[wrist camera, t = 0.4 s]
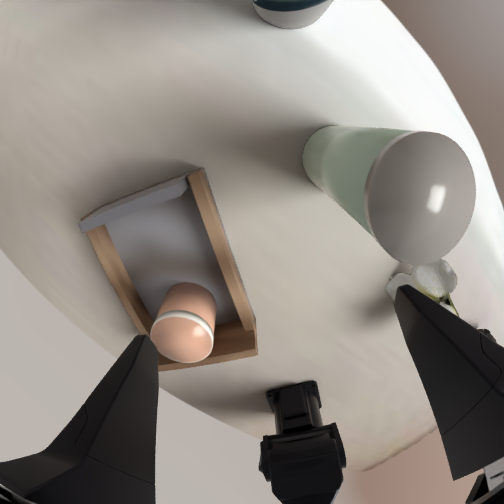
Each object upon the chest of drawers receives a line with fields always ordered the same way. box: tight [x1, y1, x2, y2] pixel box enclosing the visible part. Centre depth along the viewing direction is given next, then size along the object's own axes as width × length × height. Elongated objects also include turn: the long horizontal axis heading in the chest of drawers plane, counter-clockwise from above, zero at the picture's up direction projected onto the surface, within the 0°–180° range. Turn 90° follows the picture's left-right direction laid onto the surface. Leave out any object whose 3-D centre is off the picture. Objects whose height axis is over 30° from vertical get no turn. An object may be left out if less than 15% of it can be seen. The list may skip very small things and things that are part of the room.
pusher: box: [78, 174, 190, 233], centre depth 19 cm, size 1×8×4 cm, turn 106°
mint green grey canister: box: [302, 126, 476, 265], centre depth 15 cm, size 6×6×13 cm
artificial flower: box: [386, 258, 497, 343], centre depth 25 cm, size 9×22×10 cm, turn 50°
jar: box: [150, 282, 217, 363], centre depth 23 cm, size 5×5×5 cm
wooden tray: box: [81, 168, 258, 372], centre depth 22 cm, size 15×11×5 cm
